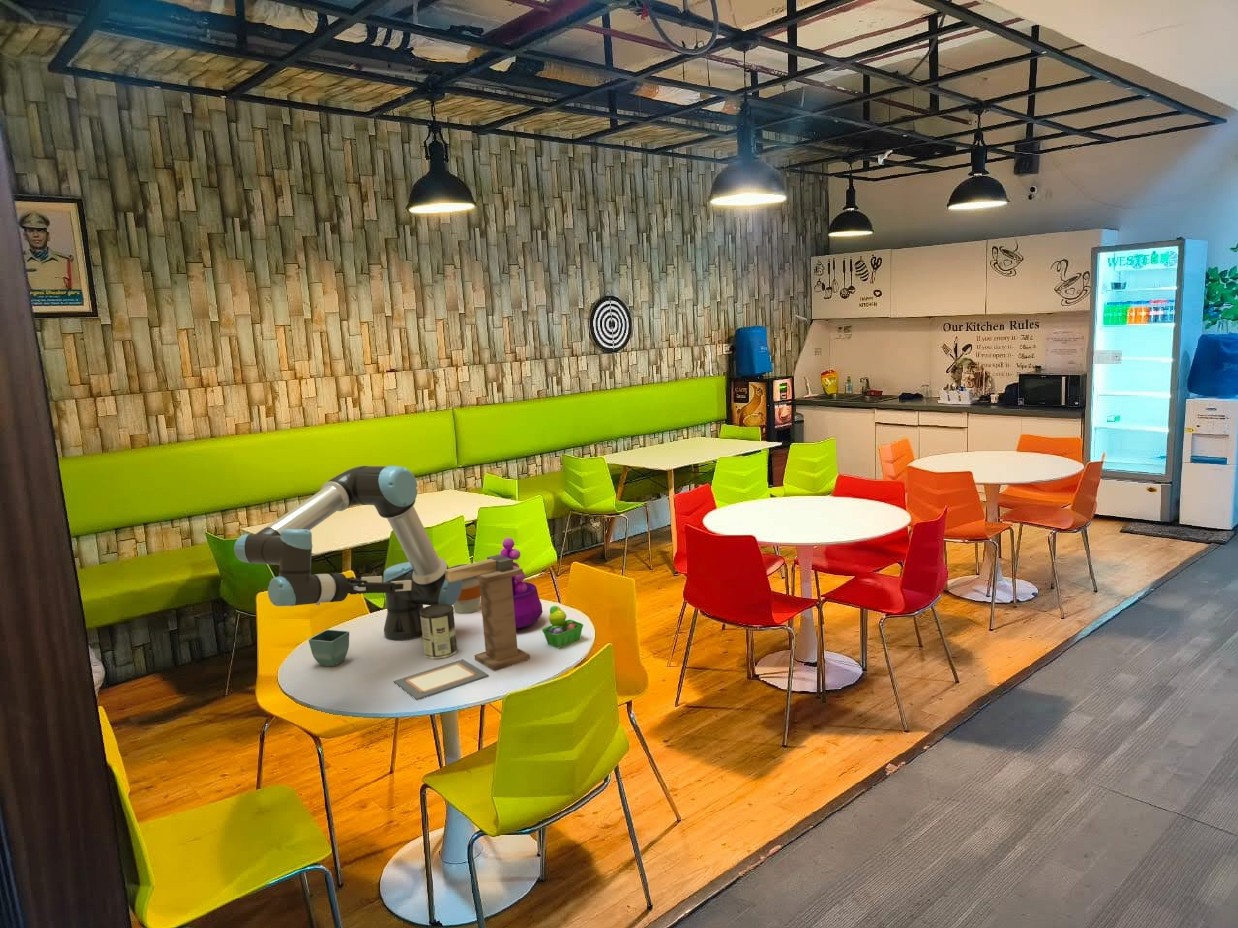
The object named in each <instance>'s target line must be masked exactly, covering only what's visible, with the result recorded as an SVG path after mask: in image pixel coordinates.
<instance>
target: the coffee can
mask: <svg viewBox="0 0 1238 928" xmlns="http://www.w3.org/2000/svg"><path fill="white" fill-rule="evenodd" d="M419 613H420V618H421V627H422V636H421V637H422V643H423V654H424V657H425V658H427V659H431V660H441V659H446V658H449V657H452V656H454V655H456V654H457V653H458V645H457V634H456V624H455V615H454V614H455V610H454V606H453V605H449V604H436V605H426V606H424V607H423V608H422V609H421V610H420V611H419Z"/></svg>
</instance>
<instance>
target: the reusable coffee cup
mask: <svg viewBox="0 0 1238 928" xmlns="http://www.w3.org/2000/svg"><path fill="white" fill-rule="evenodd" d="M467 564H468V563H463V564H457V565H454V566H453V565H452V566H450V567H449V569H451V568H455V567H459V566H463V565H467ZM452 606H453V608H454V610H453V611H454V613H456V614H460V615H461V614H464V615H465V614H472V613H475V612H478V611H479V610H480V609H481V595H480V584H479V580H478V579H475V578H473V577H469V578H466V579H462V589H461V593H460V596H459V598H458V600H457V601H456V602H455V603H454V604H453V605H452Z"/></svg>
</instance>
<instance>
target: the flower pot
mask: <svg viewBox="0 0 1238 928" xmlns="http://www.w3.org/2000/svg"><path fill="white" fill-rule="evenodd" d="M308 645H309V648H310V652H311V654H312V656H313V658H314V660H315V661H316V663H318V664H319V665H320V666H324V667H325V666H327V667H336V666H337V665H338V664H340V663H342V662H343V661H345V658H346V657H347V654H348V652H349V647H350V631H347V630H339V629H335V630H334V629H325V630H323V631H322V632H320V633H317V634H316V635H313V636H312V637H310V638H308Z"/></svg>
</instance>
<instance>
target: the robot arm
mask: <svg viewBox="0 0 1238 928" xmlns="http://www.w3.org/2000/svg"><path fill="white" fill-rule="evenodd" d="M417 487H418V484H417V479H416V477H415V475H414V474H413V472H411V470H409V469H408V468H406V467H404V466H397V465H387V466H385V465H383V466H382V465H380V466H379V465H377V466H376V465H359V466H355V467H352V468H349V469H347V470H345V471H344V472H343V471H342V472H341V473H338V475H336V476H334V477H332V478H330V479H329V480H328V481H326V482H325V483H323V484H322V485H321V488H320V490H319V491H318V492H316V493H314V494H313V495H311V496H310V497H309V498H307V499H306V500H304V501H303V502H302V503H299V504H297V506H295V507H293V508H292V509H290V510H289V511H288V512H287V513H285V514H284V515H282V516H281V517H279V518H277V519H276V520H275V521H273V522H272V523H270V524H268V525H267V526H265V527H264V528H262V529H261V530H259V531H258V532H256V533H247V534H241V535H240V536H239V537H237V539H236V541H235V542H234V546H233V552H234V555H235V557H236V559H237V560H239V561H240V562H242V563H247V564H251V565H252V564H253V565H254V564H255V565H258V564H260V565H271V566H272V565H273V566H275V565H276V566H279V572H278V576H274V577H273V578H271V580H270V581H269V584H268V587H267V595H268V596H267V597H268V599H269V601H270V603H272V605H273V606H276V607H294V606H295V607H296V606H303V605H305V606H306V605H311V604H313V605H316V606H320V605H321V604H322V603H323V604H325V603H335V602H336V603H338V602H339V603H340V602H343V601H345V600H346V598H347V597H348V595H357V594H358V595H361V594H385V595H384V596H385V602H386V611H387V613H386V617H385V622H384V626H383V635H384V637H385V638H386V639H387V640H392V641H407V640H412V639H416V638H420V637H423V636H422V627H421V618H420V613H419V611H420V610H421V609H422V608H424V606H431V605H436V604H449V605H452V606H453V604H454V603H455V602H456V601H457V600H458V598H459V596H460V593H461V589H462V580H458V581H454V582H448V581H446V579H445V570H447V569H449V568H450V567H449V565H448V564H447V562H446V560H445V559H443V558H440V556H438V554H437V551H436V550H435V548H434V545H433V544H432V541H431V540H430V537H429V536H428V533H427V531H426V529H425V526H424V525H423V523H422V521H421V518H420V516H419V515H418V513H417V510H416V508H415V503H416V499H417V495H418V491H419V490H418V489H417ZM360 505H361V506H363V505H365V506H374V508H375V509H376V512H377V513H378V515H379V516H380V517H381V518H383V519H387V521H388V523H389V526H390V527H391V529H392V532H393V533H394V535H395V536H396V539H397V540H398V542H399V544H400V547H401V549H402V550H403V552H404V555H405V556H406V558H407V560H408V561H406V562H402V563H398V564H394V565H391V566H389V567H387V568H386V569H385V570H384V571H383V576H382V575H379V576H361V574H355V577H354V576H351V577H346V575H345V574H344V573H342V572H337V573H336V572H335V573H333V572H332V573H316V574H311V573H312V558H313V557H312V555H313V539H312V538H313V536H312V534H313V533H312V532H311V530H313V529H314V528H315V527H316V526H318V525H319V524H321V523H322V522H324V521H326V519H328V518H329V517H330V516H332V515H333V514H335V513H336V512H343V511H345V510H346V509H348V508H350V507H353V506H360Z"/></svg>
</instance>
